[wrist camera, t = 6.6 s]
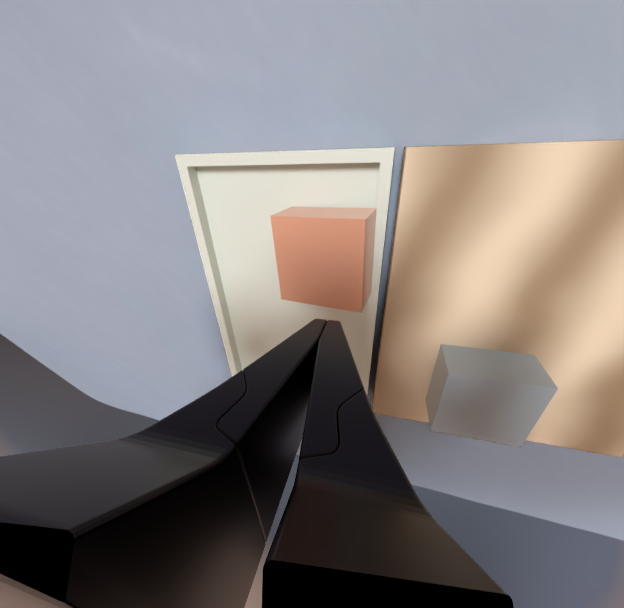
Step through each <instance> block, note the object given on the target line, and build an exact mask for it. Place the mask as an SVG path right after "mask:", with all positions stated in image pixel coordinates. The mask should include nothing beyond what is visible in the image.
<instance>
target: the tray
mask: <svg viewBox="0 0 624 608" xmlns="http://www.w3.org/2000/svg"><path fill="white" fill-rule="evenodd" d="M393 157H394V147H387V148H357V149H327V150H297V151H267V152H237V153H208V154H182V155H175V158H176V162H177V166H178V169H179V173H180V177H181V181H182V185H183V189H184V193H185V196H186V200H187V204H188V208H189V212H190V216H191V220H192V224H193V227H194V231H195V235H196V239H197V243H198V247H199V251H200V254H201V258H202V262H203V266H204V270H205V274H206V278H207V282H208V285H209V289H210V293H211V297H212V301H213V305H214V309H215V312H216V316H217V320H218V324H219V328H220V332H221V336H222V340H223V343H224V347H225V351H226V355H227V359H228V363H229V367H230V370H231V374H232V377H233V376H234V375H235V374H237V373H238V372H240V371H241V370H242V371H243V369H244V368H246V367H247V366H248V365H250V364H251V363H253V362H254V361H255V360H257V359H258V358H260V357H261V356H263V355H264V354H265V353H267V352H268V351H270V350H271V349H273V348H274V347H275V346H277V345H278V344H280V343H281V342H282V341H284V340H285V339H287V338H288V337H290V336H291V335H292V334H294V333H295V332H297V331H298V330H300V329H301V328H302V327H304V326H305V325H307V324H308V323H309V322H311V321H312V320H314V319H325V320H327V321H328V320H335V321H340V322H341V325H342V327H343V330H344V333H345V336H346V339H347V341H348V344H349V347H350V350H351V352H352V355H353V358H354V361H355V364H356V366H357V369H358V372H359V375H360V377H361V380H362V383H363V386H364V389H365V391H366V394H368V384H369V375H370V366H371V357H372V348H373V339H374V330H375V321H376V312H377V303H378V294H379V284H380V275H381V266H382V257H383V248H384V239H385V230H386V221H387V212H388V203H389V194H390V184H391V175H392V166H393ZM292 206H298V207H343V208H377V212H376V227H375V243H374V258H373V274H372V289H371V294H370V296H369V298H368V300H367V302H366V304H365V306H364V309H363V311H362V313H359V312H353V311H347V310H342V309H336V308H330V307H324V306H318V305H312V304H306V303H300V302H294V301H288V300H282V299H281V293H280V285H279V278H278V270H277V263H276V255H275V247H274V240H273V232H272V225H271V217H270V216H271V215H273V214H276V213H278V212H280V211H283V210H285V209H287V208H289V207H292Z"/></svg>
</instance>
